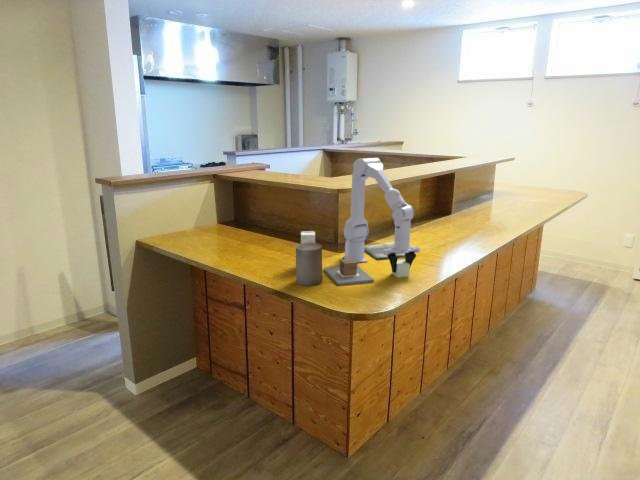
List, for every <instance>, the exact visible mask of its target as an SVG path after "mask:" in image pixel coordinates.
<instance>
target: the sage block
mask: <svg viewBox="0 0 640 480" xmlns="http://www.w3.org/2000/svg"><path fill="white" fill-rule="evenodd" d="M410 269H411V267H410V264H409V263H408V262H406V261H405V259H404V260H402V259H401V260H397V264H396V273H394V272H392V271H391V274H392V275H393V276H394V277H396V278H406V277H407V278H408V277H410V271H411V270H410Z"/></svg>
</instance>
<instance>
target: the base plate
mask: <svg viewBox="0 0 640 480" xmlns="http://www.w3.org/2000/svg"><path fill="white" fill-rule="evenodd" d="M323 271H324V272H325V274H327V276H329V278H330V279H331V280H332V281H333V282H334V283H335V285H336V286H346V285H347V286H349V285H357V284H369V283H374V282H375V279H374V278H373V277H372V276H370V275H369V274H368V273H367V272H366V271H364V270H363V269H362V268H361V267H360V266H359V265H357V275H351V276H344V275H343V274H341V273H340V266H333V267H324V268H323Z"/></svg>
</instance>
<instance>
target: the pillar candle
mask: <svg viewBox="0 0 640 480" xmlns="http://www.w3.org/2000/svg"><path fill="white" fill-rule="evenodd" d="M322 247H323V246H322V244H319V243H317V242H315V243H302V244H301V243H299V244H298V243H297V244H296V245H295V274H296V275H295V279H296V284H298V285H302V286H304V287H305V286H306V287H311V286H317V285H320V284H321V283H322V282H323V248H322Z"/></svg>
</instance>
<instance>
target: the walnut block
mask: <svg viewBox="0 0 640 480" xmlns="http://www.w3.org/2000/svg"><path fill="white" fill-rule="evenodd" d="M357 266H358V262H356V261H355V260H353V259H345V258H343V259H340V260H339V267H340V273H341V274H343V275H344V276H351V275H357Z"/></svg>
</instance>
